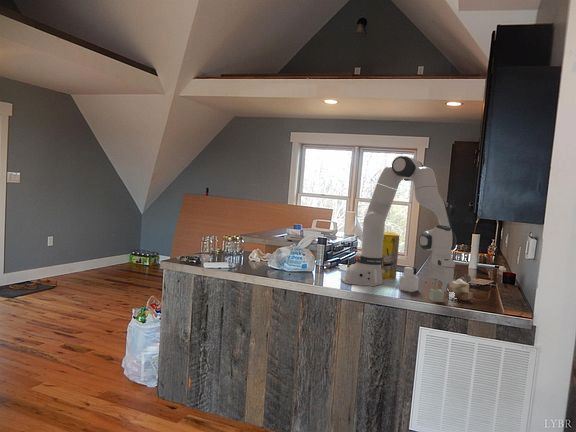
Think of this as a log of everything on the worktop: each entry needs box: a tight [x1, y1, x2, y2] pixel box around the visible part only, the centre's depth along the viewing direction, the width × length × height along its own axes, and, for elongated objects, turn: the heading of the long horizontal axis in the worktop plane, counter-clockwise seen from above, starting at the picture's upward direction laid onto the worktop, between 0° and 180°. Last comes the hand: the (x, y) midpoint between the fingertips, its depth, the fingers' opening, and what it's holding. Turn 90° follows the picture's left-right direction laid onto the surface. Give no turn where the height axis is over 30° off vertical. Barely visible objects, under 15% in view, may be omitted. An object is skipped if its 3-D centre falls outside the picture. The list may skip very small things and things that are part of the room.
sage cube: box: [428, 288, 445, 303], centre depth 224 cm, size 5×5×5 cm
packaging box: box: [381, 231, 400, 280], centre depth 276 cm, size 16×16×25 cm
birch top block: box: [448, 280, 470, 294], centre depth 232 cm, size 7×7×4 cm
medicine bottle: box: [398, 266, 420, 293], centre depth 242 cm, size 7×7×12 cm
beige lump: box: [447, 287, 469, 301], centre depth 232 cm, size 7×7×4 cm
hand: (439, 288), depth 224 cm, fingers open, 8 cm apart
